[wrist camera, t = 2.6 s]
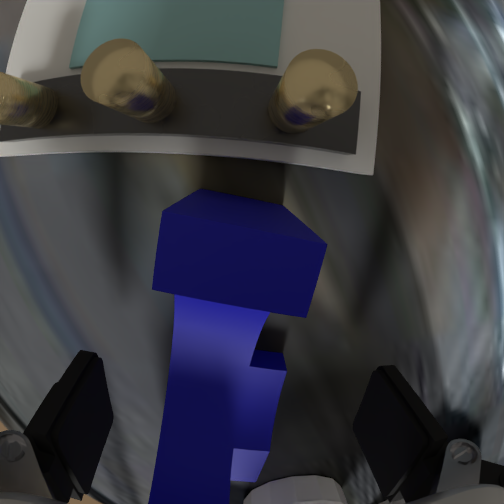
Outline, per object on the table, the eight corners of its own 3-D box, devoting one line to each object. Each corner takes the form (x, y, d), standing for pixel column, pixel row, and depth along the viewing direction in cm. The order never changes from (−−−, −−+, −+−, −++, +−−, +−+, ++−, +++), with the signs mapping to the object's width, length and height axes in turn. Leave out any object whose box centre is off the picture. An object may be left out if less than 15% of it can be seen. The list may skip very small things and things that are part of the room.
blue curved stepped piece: (252, 438, 15) (259, 533, 9) (168, 426, 14) (148, 520, 8) (320, 213, 12) (395, 259, 6) (201, 188, 11) (162, 211, 5)
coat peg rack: (351, 96, 9) (415, 62, 5) (346, 155, 9) (411, 152, 5) (18, 91, 8) (-54, 75, 4) (11, 142, 8) (-64, 142, 5)
